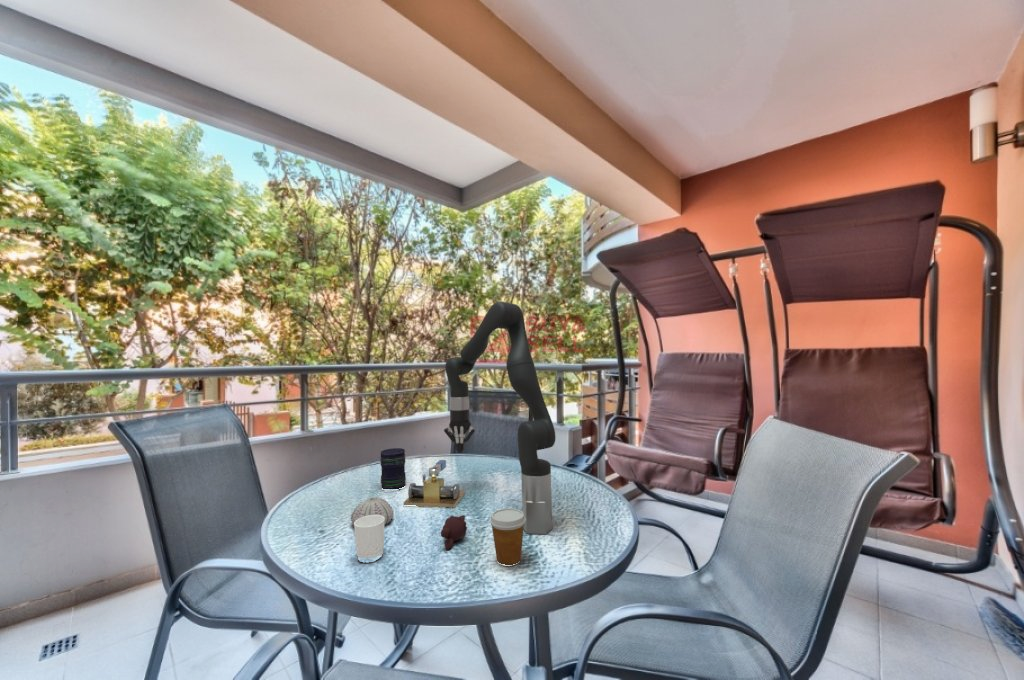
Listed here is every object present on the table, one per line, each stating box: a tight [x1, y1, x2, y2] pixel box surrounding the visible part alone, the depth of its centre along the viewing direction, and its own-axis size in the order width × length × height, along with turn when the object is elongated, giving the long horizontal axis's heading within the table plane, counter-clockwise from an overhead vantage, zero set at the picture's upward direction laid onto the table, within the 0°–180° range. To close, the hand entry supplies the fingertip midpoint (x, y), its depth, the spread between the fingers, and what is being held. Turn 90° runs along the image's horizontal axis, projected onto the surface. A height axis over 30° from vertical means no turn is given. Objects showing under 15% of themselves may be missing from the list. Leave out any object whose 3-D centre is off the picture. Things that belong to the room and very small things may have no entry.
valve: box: [403, 473, 466, 509], centre depth 152 cm, size 14×19×10 cm
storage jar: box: [379, 447, 407, 489], centre depth 167 cm, size 10×10×15 cm
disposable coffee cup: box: [489, 507, 526, 565], centre depth 108 cm, size 10×10×12 cm
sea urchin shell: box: [350, 496, 395, 526], centre depth 133 cm, size 13×14×8 cm
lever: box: [428, 459, 447, 478], centre depth 156 cm, size 13×4×3 cm, turn 172°
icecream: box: [440, 514, 468, 550], centre depth 120 cm, size 7×7×15 cm
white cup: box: [353, 515, 386, 558], centre depth 111 cm, size 8×8×10 cm
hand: (460, 452), depth 159 cm, fingers closed
